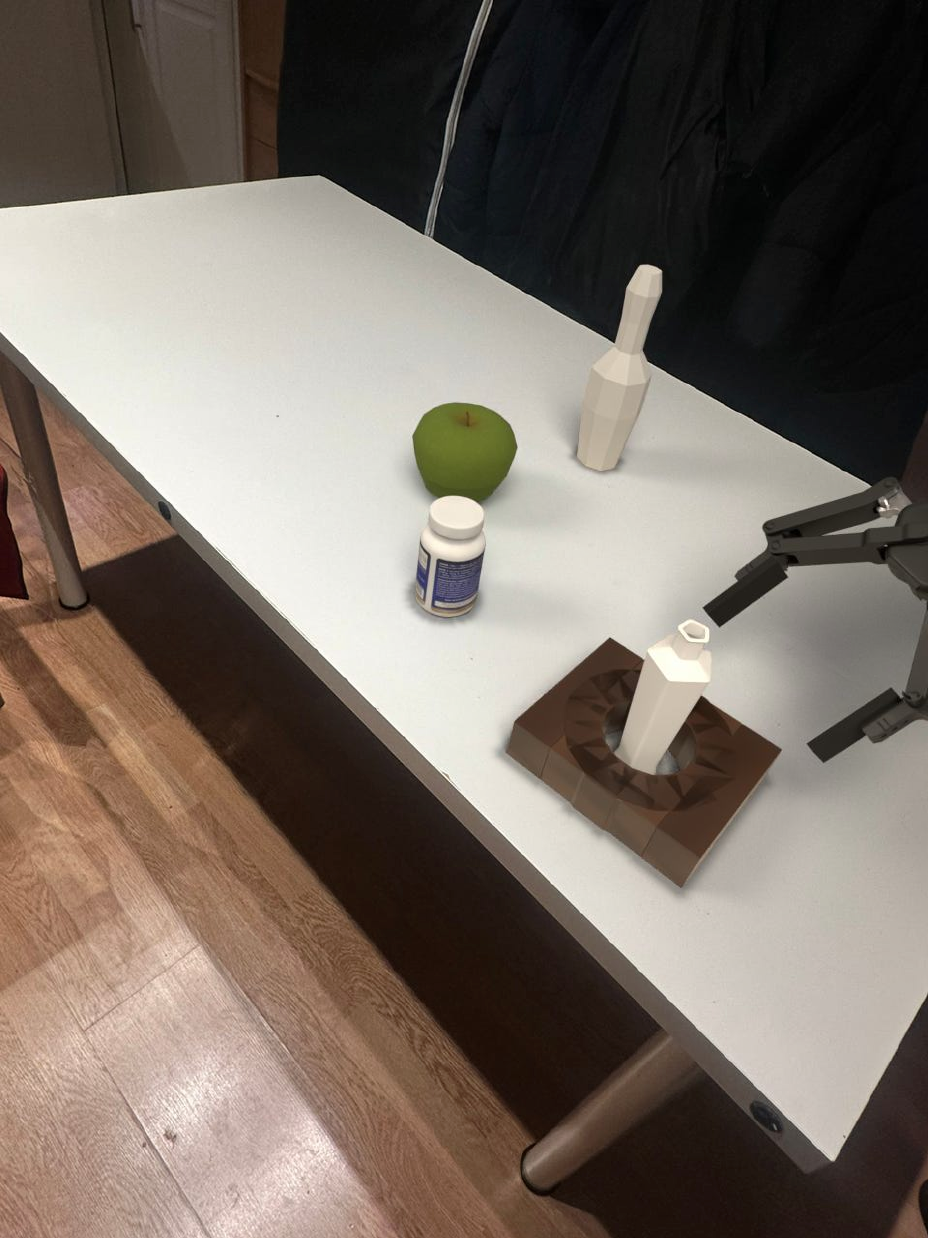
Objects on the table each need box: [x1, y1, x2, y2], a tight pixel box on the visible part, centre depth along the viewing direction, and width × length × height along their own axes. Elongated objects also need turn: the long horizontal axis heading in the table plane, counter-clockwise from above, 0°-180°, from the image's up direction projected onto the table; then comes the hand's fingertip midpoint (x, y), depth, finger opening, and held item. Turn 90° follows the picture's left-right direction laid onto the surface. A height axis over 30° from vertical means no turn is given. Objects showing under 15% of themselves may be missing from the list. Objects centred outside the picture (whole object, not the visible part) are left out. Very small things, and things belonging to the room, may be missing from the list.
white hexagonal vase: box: [613, 619, 712, 775], centre depth 59 cm, size 5×4×15 cm
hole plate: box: [505, 637, 783, 889], centre depth 63 cm, size 16×13×4 cm
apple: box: [411, 401, 519, 502], centre depth 84 cm, size 11×10×10 cm
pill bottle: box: [414, 496, 487, 618], centre depth 72 cm, size 6×6×10 cm
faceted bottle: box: [576, 264, 663, 472], centre depth 88 cm, size 6×6×22 cm
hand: (758, 681), depth 61 cm, fingers open, 13 cm apart
